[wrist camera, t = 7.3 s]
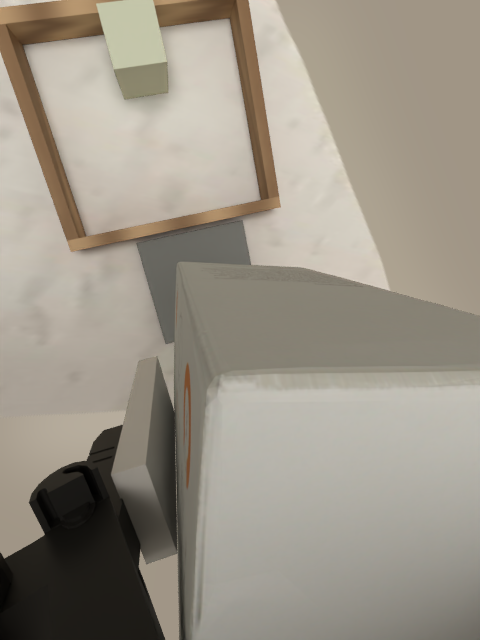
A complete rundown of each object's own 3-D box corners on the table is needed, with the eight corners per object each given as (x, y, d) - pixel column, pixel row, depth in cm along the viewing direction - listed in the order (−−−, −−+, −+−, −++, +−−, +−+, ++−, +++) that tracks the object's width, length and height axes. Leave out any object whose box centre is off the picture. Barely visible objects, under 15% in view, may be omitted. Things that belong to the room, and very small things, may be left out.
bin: (79, 249, 33) (70, 251, 30) (4, 32, 27) (-15, 9, 24) (271, 208, 35) (280, 207, 32) (238, 3, 30) (245, -21, 27)
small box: (289, 410, 18) (526, 778, 6) (172, 416, 17) (174, 897, 5) (306, 263, 16) (714, 370, 4) (175, 257, 15) (189, 383, 3)
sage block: (124, 99, 30) (113, 69, 24) (110, 47, 29) (96, 3, 23) (168, 92, 31) (167, 61, 25) (156, 41, 29) (152, -4, 24)
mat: (165, 342, 37) (165, 344, 36) (137, 242, 33) (136, 243, 33) (260, 318, 38) (261, 319, 38) (241, 220, 35) (242, 220, 34)
